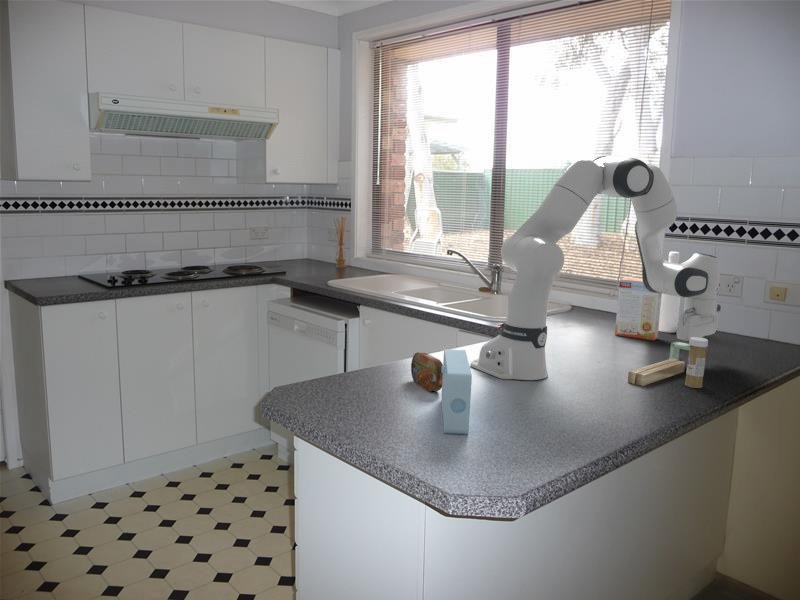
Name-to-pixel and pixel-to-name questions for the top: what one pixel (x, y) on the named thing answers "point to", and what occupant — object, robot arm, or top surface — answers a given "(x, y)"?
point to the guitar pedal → (456, 391)
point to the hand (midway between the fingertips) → (694, 350)
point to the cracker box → (637, 310)
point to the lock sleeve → (677, 349)
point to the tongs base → (633, 374)
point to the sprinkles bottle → (696, 362)
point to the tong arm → (660, 373)
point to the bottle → (669, 305)
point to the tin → (427, 371)
